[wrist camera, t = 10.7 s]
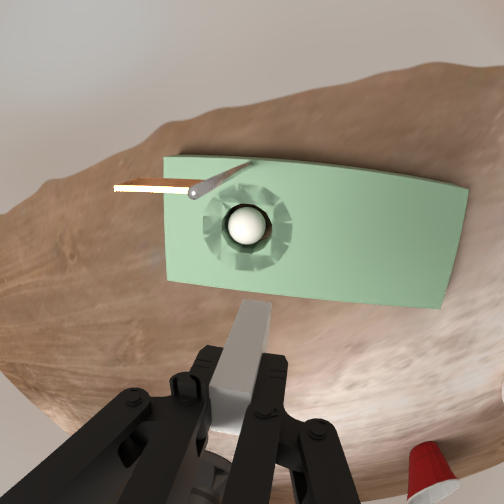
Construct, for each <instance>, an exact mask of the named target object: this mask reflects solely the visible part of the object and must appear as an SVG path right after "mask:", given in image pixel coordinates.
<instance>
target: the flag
mask: <svg viewBox="0 0 504 504" xmlns="http://www.w3.org/2000/svg"><path fill="white" fill-rule="evenodd" d="M252 167H253V163H252V162H251V161H248V162H246V163H243V164H241V165H238V166H236V167H234V168H231V169H229V170H227V171H224V172H222V173H220V174H218V175H215V176H213V177H211V178H209V179H206V180H200V179H176V178H136V179H133V180H130V181H126V182H123V183H120V184H117V185H114V191H142V192H166V193H186V194H187V195H188V197H189V198H190V199H192V200H197V199H198V198H200V197H202V196H203V195H205V194H207V193H208V192H210V191H212V190H214V189H215V188H217V187H219V186H220V185H222V184H224V183H226V182H227V181H229V180H231V179H232V178H234V177H236V176H238V175H240V174H241V173H243V172H245V171H247V170H248V169H250V168H252Z"/></svg>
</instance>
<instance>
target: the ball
mask: <svg viewBox="0 0 504 504" xmlns="http://www.w3.org/2000/svg"><path fill="white" fill-rule="evenodd" d="M228 229H229V233H230V235H231V236H232V238H233V239H234V240H235V241H237V242H239V243H241V244H253V243H255V242H257V241H258V240H260V239H261V237H262V236H263V235H264V232H265V229H266V223H265V219H264V217H263V215H262V214H261V213H260V212H259V211H258V210H256V209H254V208H251V207H243V208H239V209H238V210H236V211H235V212H234V213H233V214H232V215H231V217H230V219H229V222H228Z"/></svg>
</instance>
